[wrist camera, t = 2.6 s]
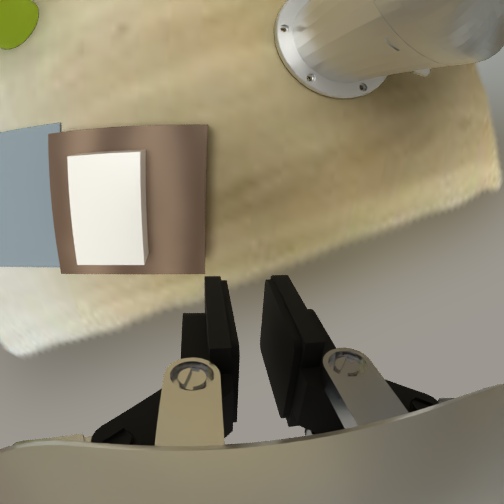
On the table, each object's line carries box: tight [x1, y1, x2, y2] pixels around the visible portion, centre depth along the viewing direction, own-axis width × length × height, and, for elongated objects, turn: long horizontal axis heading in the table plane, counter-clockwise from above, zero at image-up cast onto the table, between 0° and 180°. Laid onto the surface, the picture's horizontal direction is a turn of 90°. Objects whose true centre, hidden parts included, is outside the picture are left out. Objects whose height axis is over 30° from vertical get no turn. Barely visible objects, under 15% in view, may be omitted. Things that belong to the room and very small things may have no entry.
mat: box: [0, 123, 61, 267], centre depth 27 cm, size 10×15×1 cm
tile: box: [67, 150, 149, 265], centre depth 24 cm, size 6×9×2 cm, turn 177°
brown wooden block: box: [48, 125, 208, 274], centre depth 28 cm, size 14×13×4 cm
